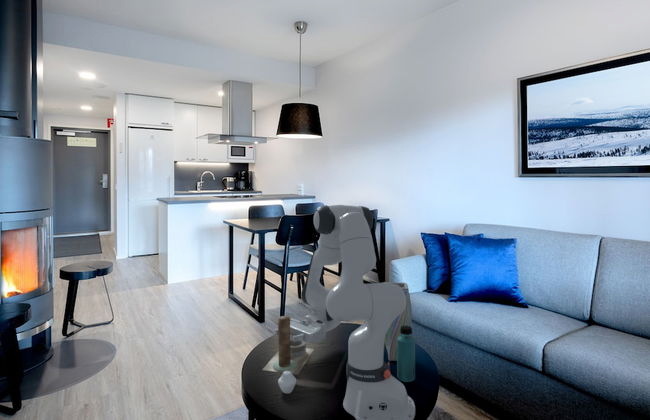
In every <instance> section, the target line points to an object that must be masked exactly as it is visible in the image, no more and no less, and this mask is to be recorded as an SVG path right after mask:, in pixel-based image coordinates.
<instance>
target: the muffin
mask: <svg viewBox="0 0 650 420" xmlns="http://www.w3.org/2000/svg"><path fill="white" fill-rule="evenodd" d="M281 373H282V372H281ZM277 383H278V387H279V388H280V390H281V392H282V393H284V394H291V393H292V392H293V391H294V388H295V386H296V383H297V379H296V377H295V375H294V374H292V372H290V371H285V372H283V373H282V374H281V376H280V378H278V380H277Z"/></svg>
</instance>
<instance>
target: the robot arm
mask: <svg viewBox="0 0 650 420" xmlns="http://www.w3.org/2000/svg"><path fill="white" fill-rule="evenodd" d="M373 217H374V216H373V213H372V212H371V209H370V208H369V207H367V206H362V205H358V206H357V205H345V204H333V205H321V206H317V208H316V209H315V211H314V215H313V218H312V219H313V225H314V228H315V231H316V232H317V233H318V234H320V236H319V242H318V243H319V244H318V247H317V249H316V250H315V251H313V253H312V254H311V258H310V262H309V266H308V269H307V274H306V277H305V278H306V279H305V282H304V285H303V287H302V290H301V299H302V302H303V303H304V304H306V305H308V306H311V307H313V309H315V310H316V311H315V312H312V313H309V314H307V315H304V316H302V317H301V319H300V320H299V319H296V318H291V317H290V339H291V341H293V342H295V341H305V342H306V343H308V344H316V343H318V342H320V341H324V340H326V335H327V334H326V333H327V332H329V331H331V330H334V329H335V328H337V327H338V326H339V325H340V324H341V323H342V322H347V323H349V322H360V321H362V324H361V325H360V326H359V327H357V328H356V329H355V330H354V331H352V332H351V334H350V335H349V338H348V342H347V343H348V347H347V348H348V352H347V353H348V356H347V357H348V358H347V361H346V379H347V380H346V381H347V382H346V390H345V396H344V398H343V403H342V406H343V408H344V410H345V411H346V412H347V413H348V414H350V415H351V416H353V417H354V418H355V420H414V419H415V416H416V405H415V402H414V399H412V397H410V396H409V395H408V393H407V389H406V386H405V385H404V383H402V381H401V380H399V379H398V378H396V377H395V376H393V375H392V374H391V366H390V361H388V362H385V361H384V353H385V343H384V342H385V337H386V334H387V331H388V329H389V327H390V326H391V324H392V322H393V321H394V320H395V319H396V318H397V317H398V316H399V315H400V314H401V313H402V312H403V311H404V309H405V306H406V297H405V294H404V291H403V290H402V288H401V287H400V286H399V285H396V284H390V283H383V282H377V283H364V276H366V275H368V273H370V272H371V271H372V270H373V269H374V268H375V266H376V263H377V256H376V252H375V246H374V241H373V237H372V231H371V229H372V228H373V224H374V218H373ZM339 263H341V273H340V276H339V279H338V281H337V282H336V284H335V285H334V286H333V287H331V289H329V288H328V287H325V286H324V285H322V284H321V282H320V279H321V276H322V275H321V274H322V272H323V267H324V266H335V265H337V264H339ZM274 335H277V336H278V328H276V329H274Z"/></svg>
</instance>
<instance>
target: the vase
mask: <svg viewBox="0 0 650 420" xmlns="http://www.w3.org/2000/svg"><path fill="white" fill-rule="evenodd" d="M382 283H390V284H396V285H399V286H400V287H401V288H402V290H403V291H404V294H405V297H406V306H405V309H404V311H403V312H402V313H401V314H400V315H399V316H398V317H397V318H396V319H395V320H394V321H393V322H392V324H391V326H390V327H389V329H388V331H387V334H386V337H385V342H384V347H385V348H386V351H387V355H388V356H387V357H388V361H396V362H397V338H398V337H399V336H400V335H402V334H401V333H400V329H401V326H410V327H411V328H412V319H413V318H412V316H413V312H412V311H413V310H412V301H411V297H410V289H409V286H408V283H406V282H395V281H394V282H393V281H390V282H387V281H383V282H382Z"/></svg>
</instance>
